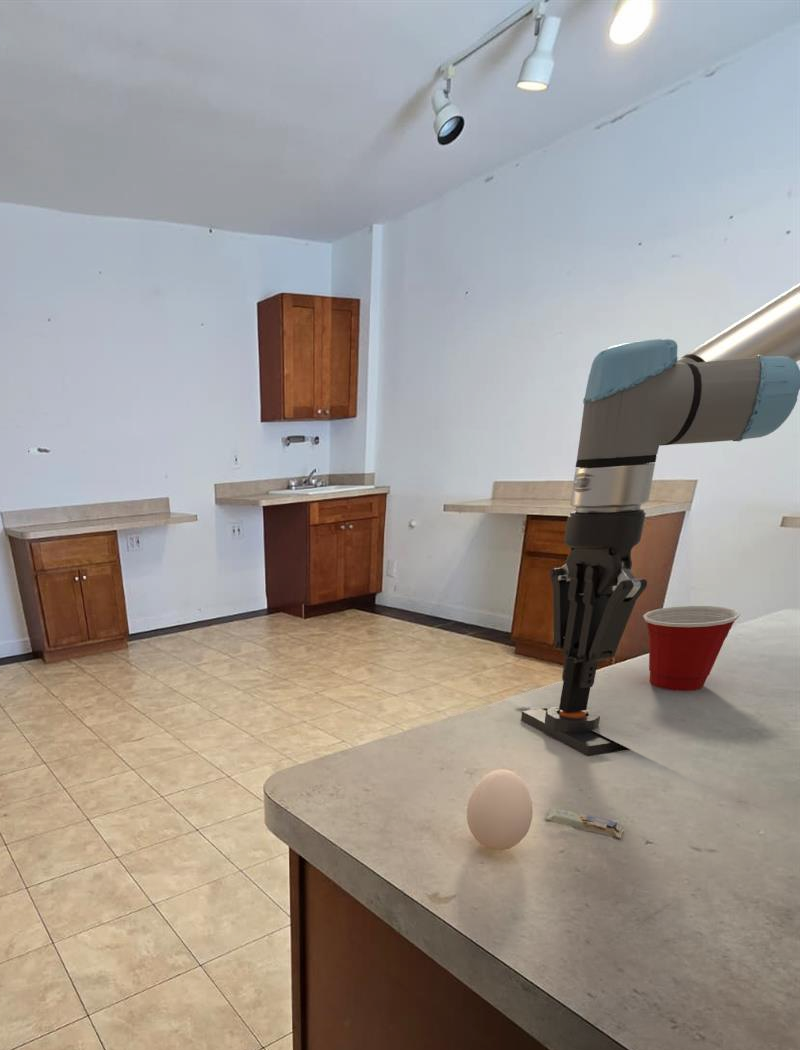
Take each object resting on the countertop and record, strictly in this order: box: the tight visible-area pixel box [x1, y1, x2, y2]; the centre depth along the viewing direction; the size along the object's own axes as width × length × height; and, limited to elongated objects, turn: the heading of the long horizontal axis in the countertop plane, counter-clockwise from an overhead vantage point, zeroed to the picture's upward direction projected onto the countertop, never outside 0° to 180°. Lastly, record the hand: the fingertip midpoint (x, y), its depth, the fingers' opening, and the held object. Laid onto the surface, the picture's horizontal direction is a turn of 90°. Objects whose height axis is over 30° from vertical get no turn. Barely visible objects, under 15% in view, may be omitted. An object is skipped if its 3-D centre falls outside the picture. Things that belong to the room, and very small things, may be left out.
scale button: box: [559, 710, 586, 718], centre depth 81 cm, size 3×3×2 cm
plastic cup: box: [642, 605, 741, 692], centre depth 90 cm, size 11×11×12 cm
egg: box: [466, 768, 534, 852], centre depth 58 cm, size 6×6×8 cm
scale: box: [520, 705, 632, 757], centre depth 82 cm, size 18×13×3 cm
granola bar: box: [544, 808, 625, 839], centre depth 62 cm, size 7×2×1 cm, turn 51°
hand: (572, 709), depth 80 cm, fingers closed
